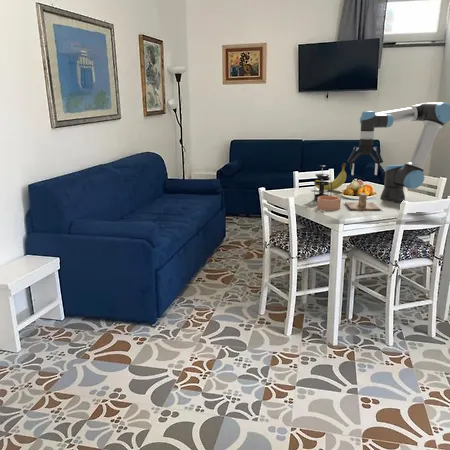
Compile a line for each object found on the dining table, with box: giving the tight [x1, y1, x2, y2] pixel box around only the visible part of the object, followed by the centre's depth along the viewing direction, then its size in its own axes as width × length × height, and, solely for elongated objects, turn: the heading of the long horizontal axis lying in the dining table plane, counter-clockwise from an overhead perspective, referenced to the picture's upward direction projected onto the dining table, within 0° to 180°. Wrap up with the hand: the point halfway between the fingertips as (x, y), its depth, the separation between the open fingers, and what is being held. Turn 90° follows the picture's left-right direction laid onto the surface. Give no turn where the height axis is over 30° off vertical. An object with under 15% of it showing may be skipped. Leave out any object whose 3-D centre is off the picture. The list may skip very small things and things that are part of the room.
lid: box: [344, 192, 381, 212], centre depth 269 cm, size 17×17×8 cm
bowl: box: [316, 195, 341, 211], centre depth 271 cm, size 13×13×6 cm
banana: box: [313, 162, 347, 191], centre depth 323 cm, size 23×6×20 cm, turn 78°
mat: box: [342, 203, 383, 212], centre depth 270 cm, size 20×20×1 cm
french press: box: [313, 165, 333, 202], centre depth 291 cm, size 12×9×23 cm
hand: (364, 174), depth 265 cm, fingers open, 13 cm apart
